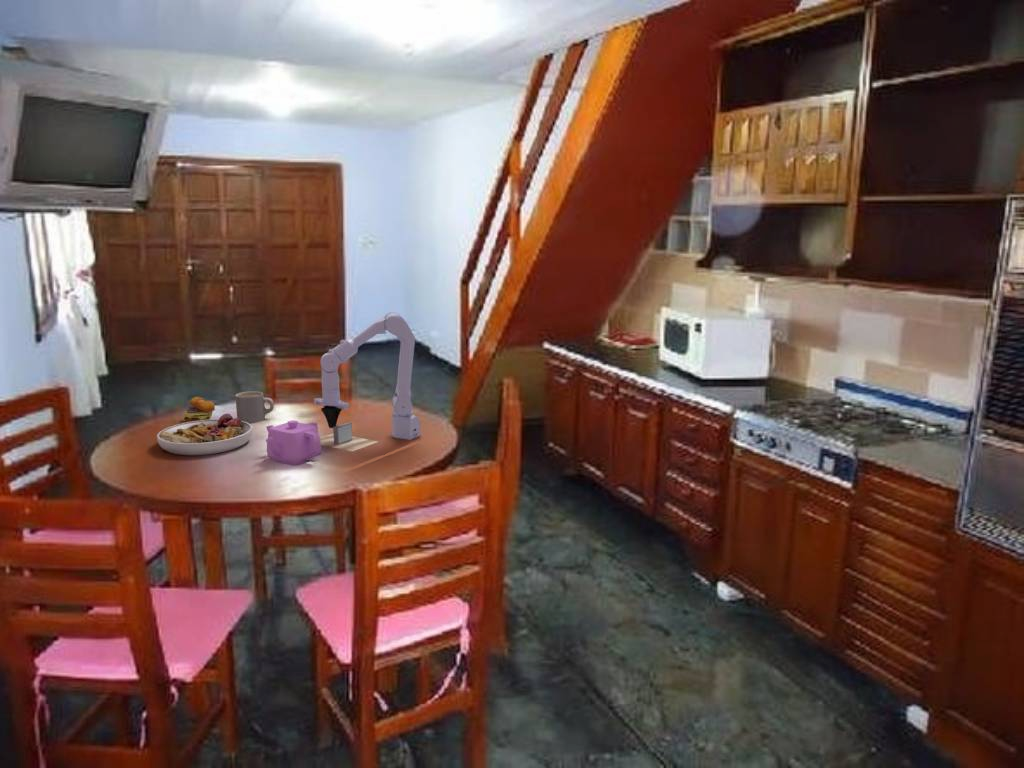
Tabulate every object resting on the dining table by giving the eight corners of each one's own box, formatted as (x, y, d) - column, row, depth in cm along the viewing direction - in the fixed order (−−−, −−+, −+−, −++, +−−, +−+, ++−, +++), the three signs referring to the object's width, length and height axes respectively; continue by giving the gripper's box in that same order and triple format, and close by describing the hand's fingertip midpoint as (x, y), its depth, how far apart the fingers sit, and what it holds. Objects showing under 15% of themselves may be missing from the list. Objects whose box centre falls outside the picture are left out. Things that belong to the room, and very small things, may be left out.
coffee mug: (233, 423, 280) (231, 397, 277) (241, 416, 289) (240, 391, 287) (270, 423, 280) (268, 397, 278) (276, 416, 290) (275, 391, 288)
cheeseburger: (181, 418, 285) (185, 393, 284) (210, 422, 290) (215, 397, 289) (182, 424, 276) (186, 398, 275) (212, 428, 281) (217, 402, 280)
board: (378, 445, 254) (378, 441, 254) (352, 455, 243) (351, 451, 243) (335, 435, 264) (335, 432, 264) (308, 445, 254) (308, 441, 253)
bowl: (221, 461, 237) (219, 437, 235) (138, 455, 243) (135, 431, 241) (269, 435, 266) (268, 414, 264) (194, 430, 271) (192, 409, 270)
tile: (352, 439, 256) (352, 422, 255) (338, 444, 250) (337, 427, 249) (348, 438, 257) (347, 422, 256) (334, 443, 251) (333, 426, 250)
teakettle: (322, 464, 235) (320, 426, 232) (265, 468, 230) (263, 430, 227) (321, 448, 251) (319, 412, 248) (268, 452, 246) (265, 416, 243)
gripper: (306, 388, 252) (308, 426, 255) (338, 393, 245) (339, 433, 248) (321, 384, 258) (323, 422, 261) (353, 389, 251) (354, 428, 254)
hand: (332, 427), depth 255 cm, fingers closed
